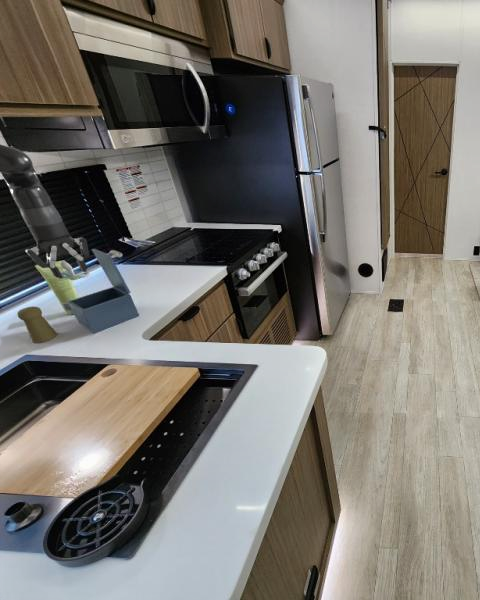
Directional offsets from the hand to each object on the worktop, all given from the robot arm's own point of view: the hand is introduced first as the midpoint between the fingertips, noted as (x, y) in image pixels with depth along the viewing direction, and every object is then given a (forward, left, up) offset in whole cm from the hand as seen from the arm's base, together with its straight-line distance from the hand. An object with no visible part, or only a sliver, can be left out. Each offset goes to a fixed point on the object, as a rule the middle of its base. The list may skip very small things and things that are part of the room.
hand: (72, 274), depth 105 cm
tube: (0, +21, -20) cm, 29 cm away
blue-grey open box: (+4, +3, -20) cm, 20 cm away
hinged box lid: (+10, +3, -3) cm, 11 cm away
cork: (-12, +7, -20) cm, 25 cm away
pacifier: (+1, 0, -2) cm, 2 cm away
